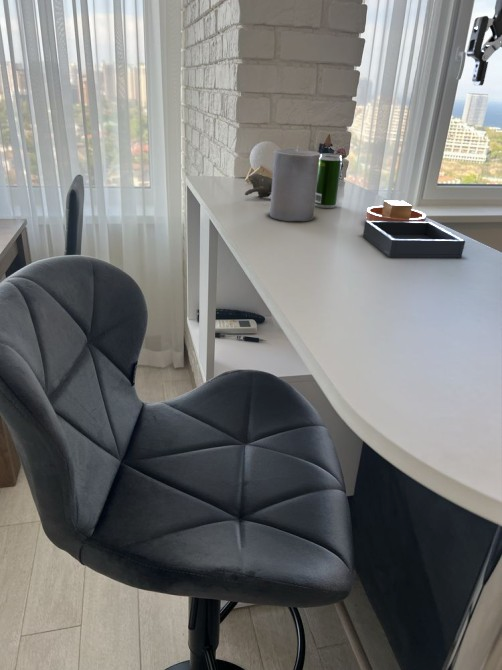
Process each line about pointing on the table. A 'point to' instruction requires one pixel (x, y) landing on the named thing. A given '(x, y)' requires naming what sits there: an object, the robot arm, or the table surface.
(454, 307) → the table surface
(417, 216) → the plate
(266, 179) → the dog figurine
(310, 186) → the pillar candle
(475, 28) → the robot arm
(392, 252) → the tray
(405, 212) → the block
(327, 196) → the beer can
